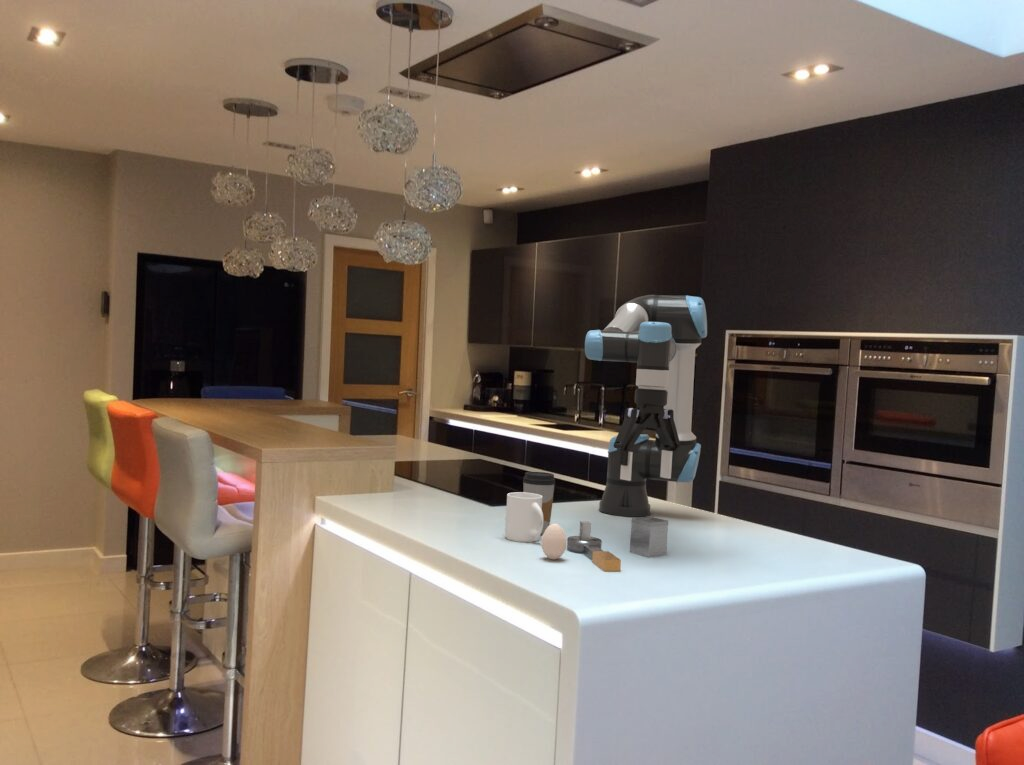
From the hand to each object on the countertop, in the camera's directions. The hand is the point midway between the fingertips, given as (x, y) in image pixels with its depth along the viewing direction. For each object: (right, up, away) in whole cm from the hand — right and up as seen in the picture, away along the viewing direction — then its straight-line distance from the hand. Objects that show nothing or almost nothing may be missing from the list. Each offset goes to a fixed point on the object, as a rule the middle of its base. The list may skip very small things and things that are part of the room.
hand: (645, 479), depth 199 cm
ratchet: (-13, -17, -8) cm, 23 cm away
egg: (-22, -17, -11) cm, 30 cm away
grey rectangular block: (0, -17, 0) cm, 17 cm away
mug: (-28, -16, +7) cm, 33 cm away
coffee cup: (-25, -16, +17) cm, 34 cm away
